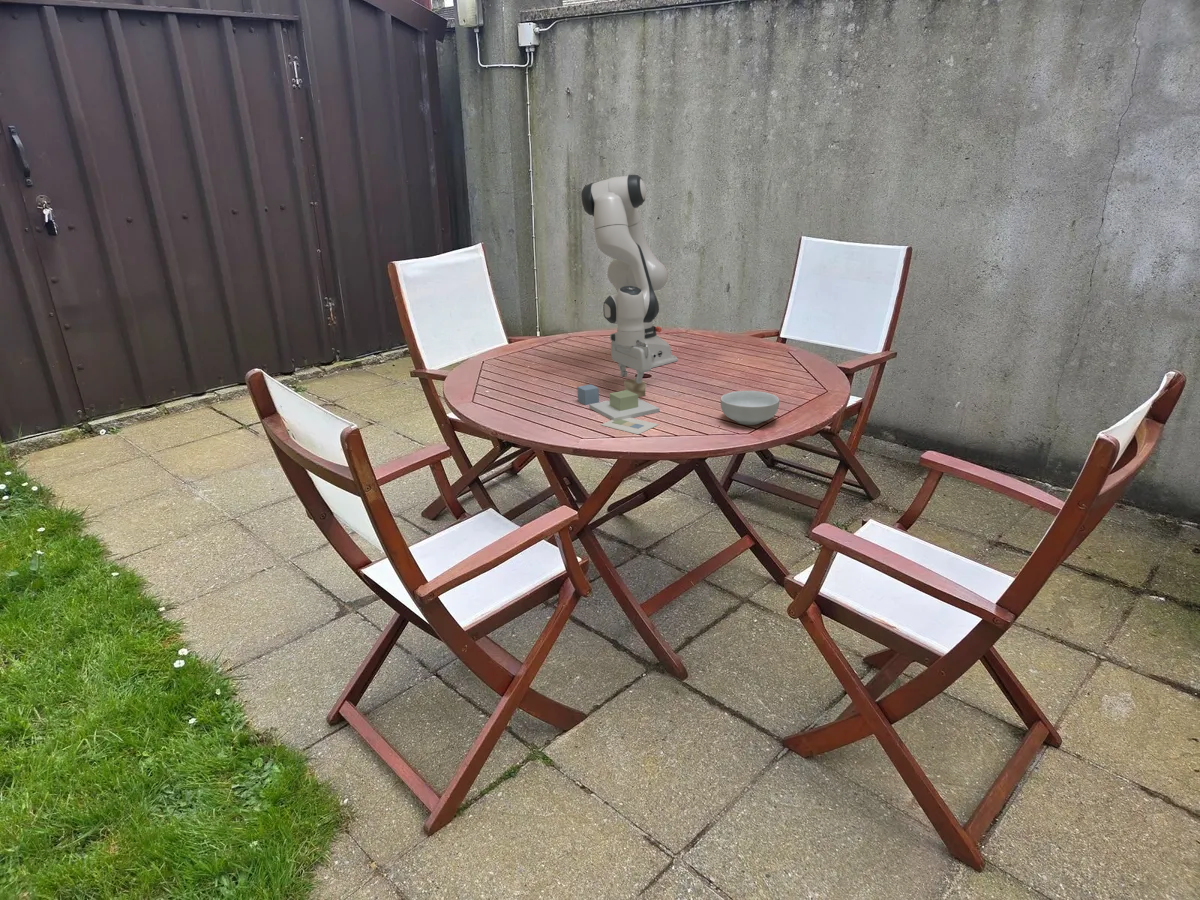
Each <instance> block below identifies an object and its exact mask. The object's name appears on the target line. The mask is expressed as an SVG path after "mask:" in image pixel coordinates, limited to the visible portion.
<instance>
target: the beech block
mask: <svg viewBox="0 0 1200 900" xmlns="http://www.w3.org/2000/svg"><path fill="white" fill-rule="evenodd" d="M623 381H624V382H623V383H624V384H623V385H624V390H628V391H631V392H633V393H635V394H637V395H638V398H642V397H646V381H644V380H642V383H639V384H638V383H636V382H635V378H630V379H627V380H626V379H625V380H623Z"/></svg>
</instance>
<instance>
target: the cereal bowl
mask: <svg viewBox="0 0 1200 900" xmlns="http://www.w3.org/2000/svg"><path fill="white" fill-rule="evenodd" d="M779 405H780V399H779V397H778V395H775V394H773V393H770V392H766V391H765V392H764V391H759V390H738V391H731V392H728V393H725V394H722V396H721V397H720V408H721V411H722V413H723V414H724V415H725V416H726V417H727V418H729V419H731V420H733V421H735V422H736V423H737V424H740V425H746V426H756V425H759V424H761V423H763V422H765V421H768V420H771V419H772V418H773V417H774V416H775V415H776V414H777V412H778V410H779V407H780V406H779Z"/></svg>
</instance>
